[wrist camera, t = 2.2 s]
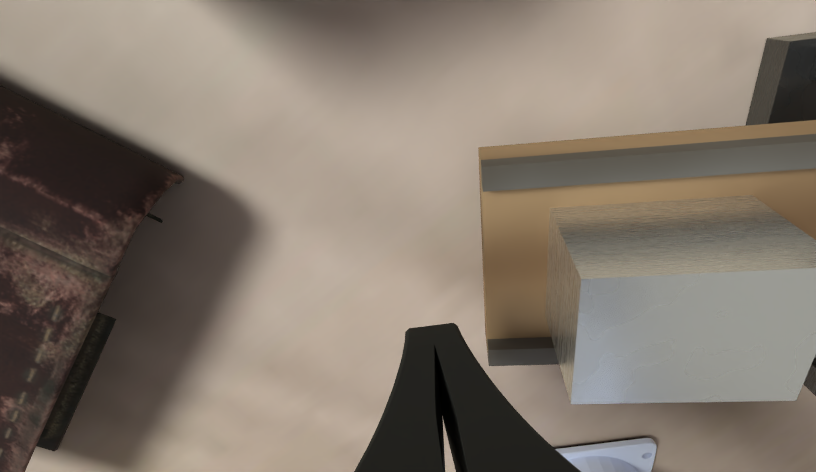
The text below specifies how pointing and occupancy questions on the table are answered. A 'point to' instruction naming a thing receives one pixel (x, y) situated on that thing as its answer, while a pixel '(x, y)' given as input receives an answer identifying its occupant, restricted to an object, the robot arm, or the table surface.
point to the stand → (787, 96)
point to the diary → (59, 263)
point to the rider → (680, 301)
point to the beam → (614, 184)
